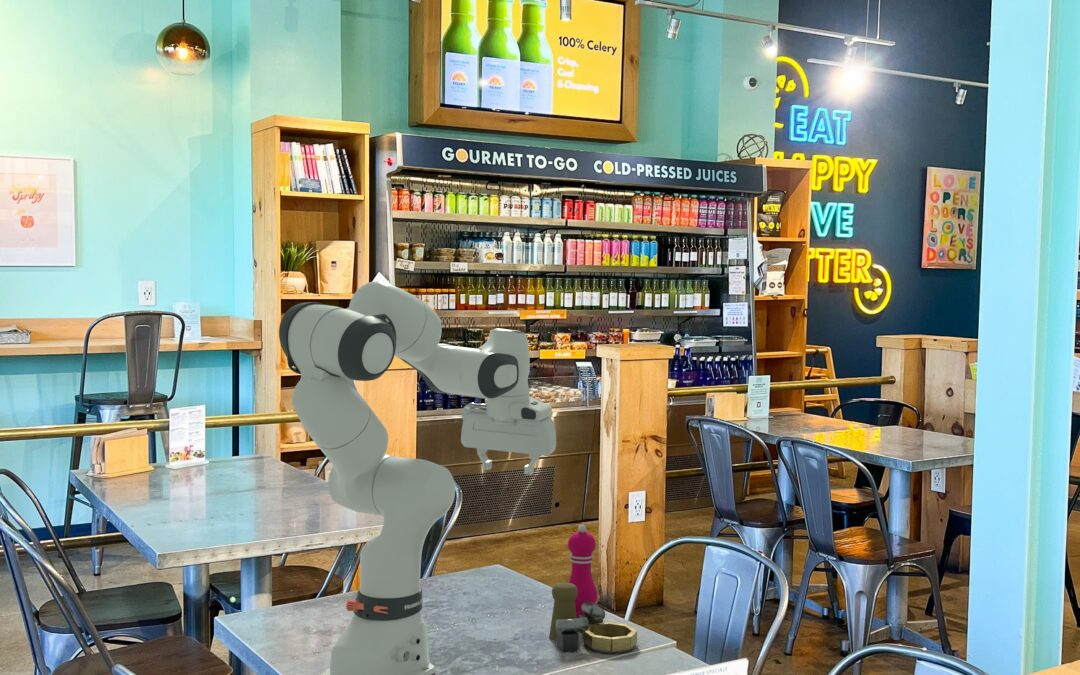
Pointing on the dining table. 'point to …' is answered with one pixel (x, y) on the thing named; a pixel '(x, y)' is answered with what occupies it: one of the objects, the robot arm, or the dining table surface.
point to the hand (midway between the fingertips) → (507, 471)
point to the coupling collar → (610, 638)
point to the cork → (563, 605)
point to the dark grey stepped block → (570, 633)
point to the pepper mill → (582, 567)
